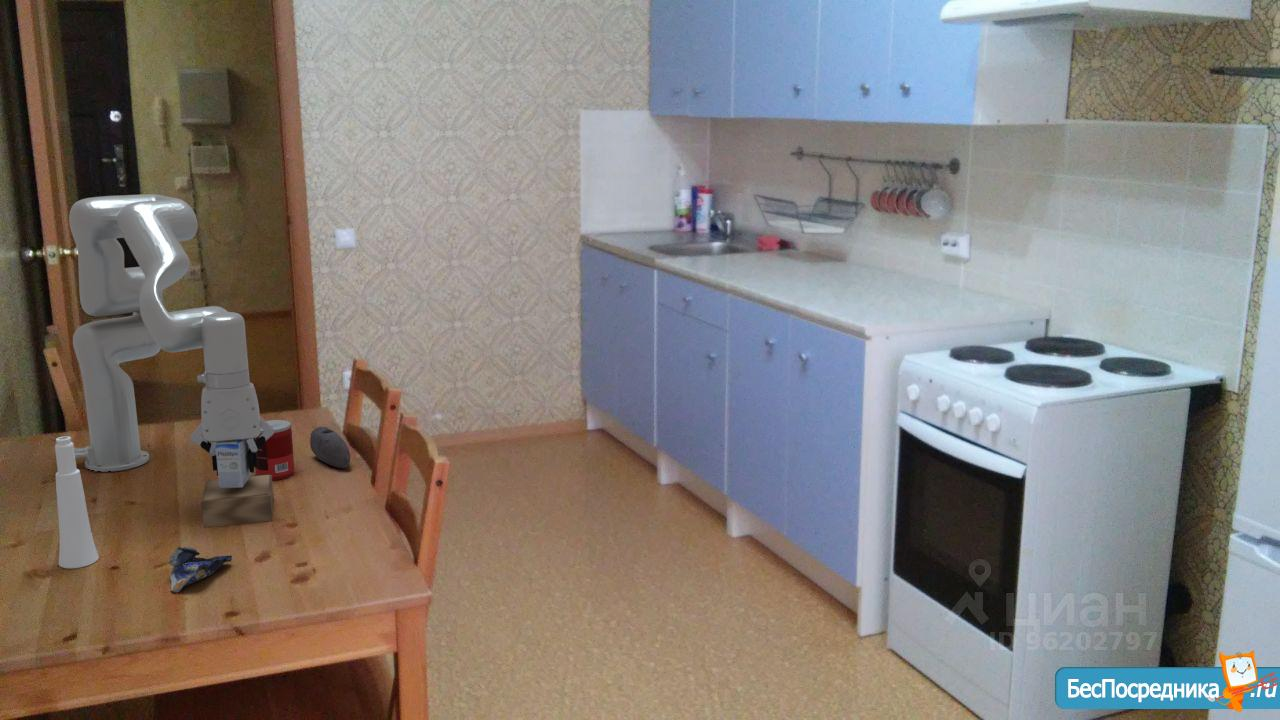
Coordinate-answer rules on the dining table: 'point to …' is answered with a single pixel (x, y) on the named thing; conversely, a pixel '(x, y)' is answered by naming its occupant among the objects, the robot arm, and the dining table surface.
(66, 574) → the dining table surface
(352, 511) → the dining table surface
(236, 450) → the medicine box
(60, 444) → the cosmetic bottle
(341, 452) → the perforated stone tool
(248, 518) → the block
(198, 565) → the snack package
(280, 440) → the canned food
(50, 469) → the dining table surface
